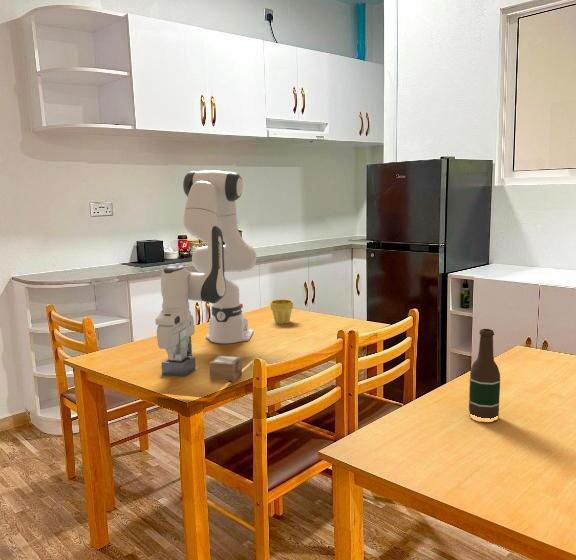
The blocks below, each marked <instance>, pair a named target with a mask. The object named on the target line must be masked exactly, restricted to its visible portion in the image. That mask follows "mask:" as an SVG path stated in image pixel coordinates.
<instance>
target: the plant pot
mask: <svg viewBox="0 0 576 560" xmlns="http://www.w3.org/2000/svg"><path fill="white" fill-rule="evenodd" d="M269 305H270V310H271V311H272V315H273V319H274V323H275V324H278V323H279V324H280V325H281V324H282V325H284V323H285V324H288V322H289V323H290V320H291V316H292V315H291V314H292V310H293V308H294V302H293V300H291V299H286V298H285V299H274V300H271V301H270V304H269Z"/></svg>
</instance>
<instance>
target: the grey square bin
mask: <svg viewBox="0 0 576 560" xmlns="http://www.w3.org/2000/svg"><path fill="white" fill-rule="evenodd" d="M199 368H200V367H199V366H196V357H195V356H193V355H192V356H187V360H186V361H185V362H183V363H178V362H169V359H168V358H165V360H163V361H161V372H160V373H159V374H158V375H159V376H170V377H171V376H172V377H183V378H187V377H188V376H189V375H191V374H192V373H193V372H195V371H196V370H197V369H199Z"/></svg>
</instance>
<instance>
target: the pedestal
mask: <svg viewBox="0 0 576 560" xmlns="http://www.w3.org/2000/svg"><path fill="white" fill-rule="evenodd" d="M242 364H243V363H242V356H232V355H231V356H230V355H218V356H216V357H215V358H213V360H210V362H209V378H210V379H221V380H222V379H223V380H228V381H227V383H234V382H236V381H237V380H238V379H239V378H240V377H241V376H242V375H243V368H242V367H243V365H242Z"/></svg>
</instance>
